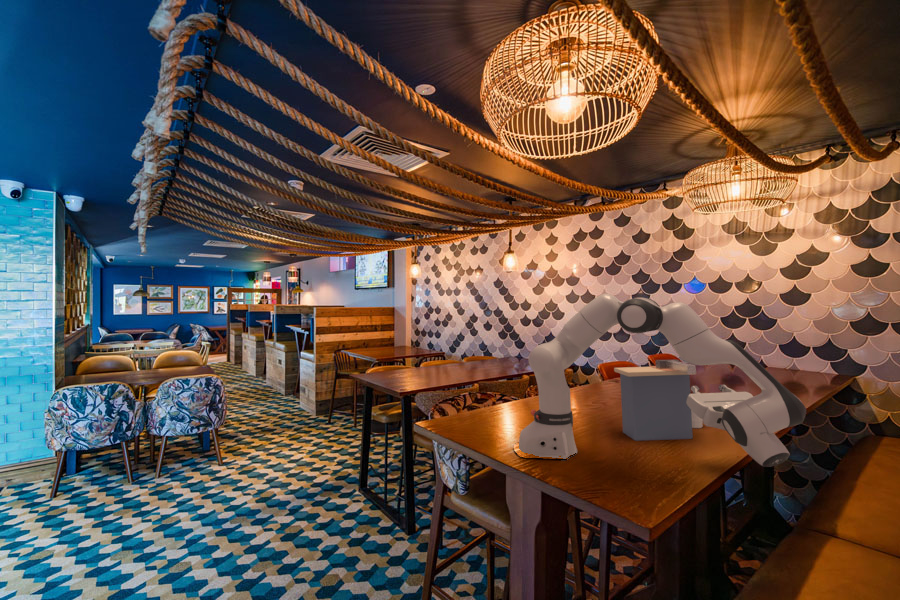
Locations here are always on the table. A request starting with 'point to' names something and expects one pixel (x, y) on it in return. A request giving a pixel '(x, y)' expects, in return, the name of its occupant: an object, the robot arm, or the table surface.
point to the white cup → (696, 421)
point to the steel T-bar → (676, 366)
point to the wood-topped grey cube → (655, 403)
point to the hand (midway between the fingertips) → (707, 386)
